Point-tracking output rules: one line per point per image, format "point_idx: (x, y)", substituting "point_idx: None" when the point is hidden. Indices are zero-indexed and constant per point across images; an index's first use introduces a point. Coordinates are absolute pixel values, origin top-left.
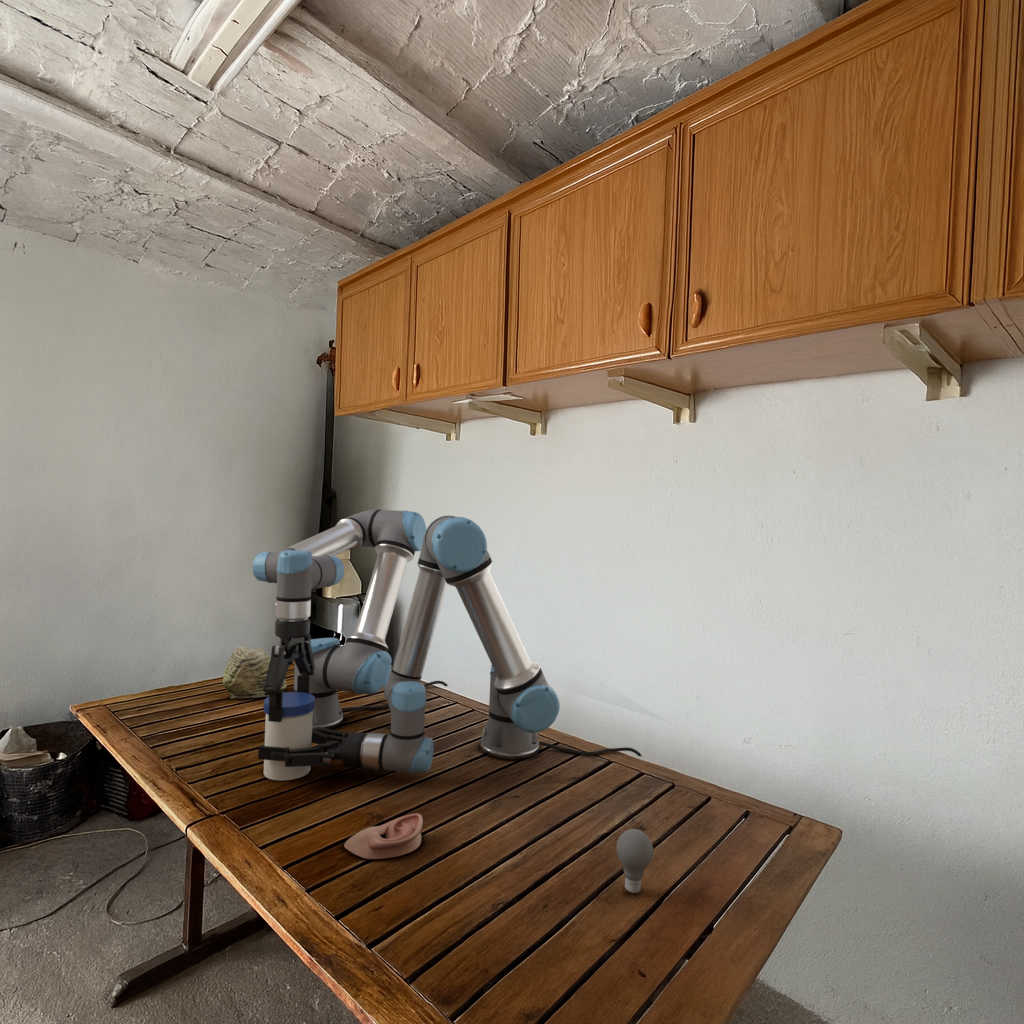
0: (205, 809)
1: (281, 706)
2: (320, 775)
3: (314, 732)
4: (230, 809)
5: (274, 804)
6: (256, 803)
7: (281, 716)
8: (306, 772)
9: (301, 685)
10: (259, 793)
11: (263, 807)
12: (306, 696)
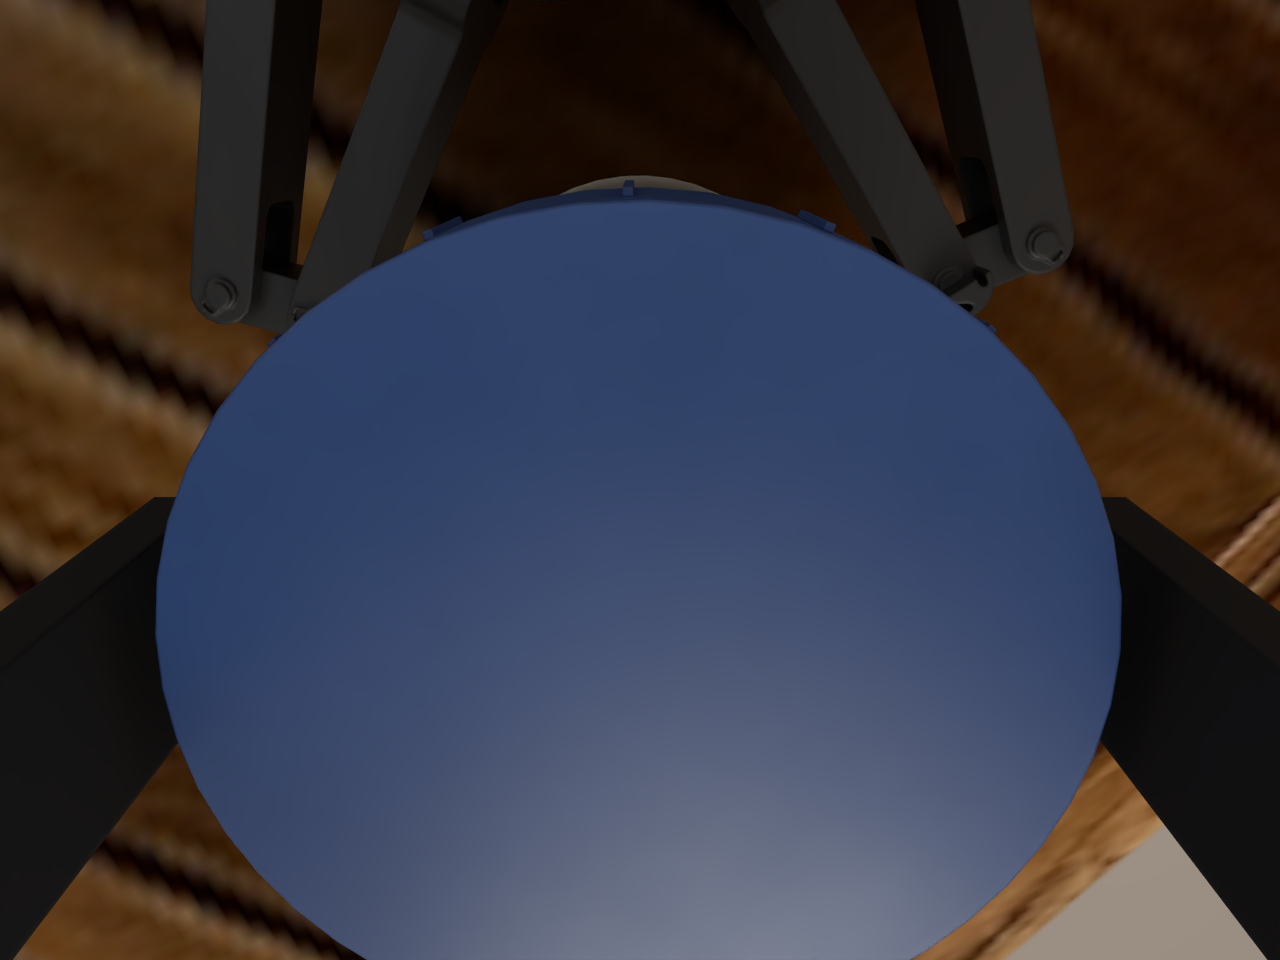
0: (1271, 570)
1: (1251, 617)
2: (652, 45)
3: (367, 262)
4: (1274, 429)
5: (1200, 171)
6: (1186, 308)
7: (1125, 528)
8: (667, 178)
9: (40, 807)
10: (1032, 368)
11: (1248, 227)
12: (358, 492)
